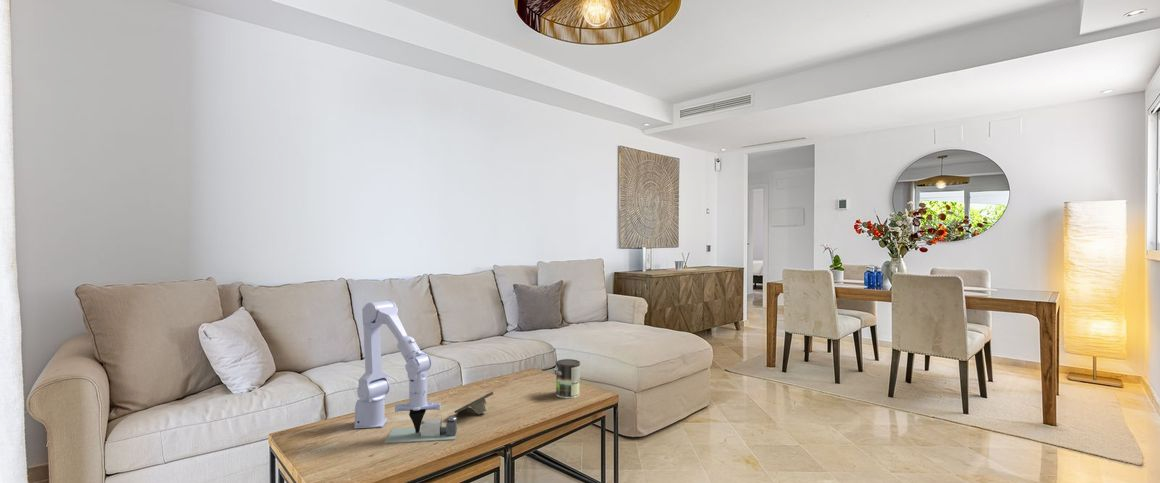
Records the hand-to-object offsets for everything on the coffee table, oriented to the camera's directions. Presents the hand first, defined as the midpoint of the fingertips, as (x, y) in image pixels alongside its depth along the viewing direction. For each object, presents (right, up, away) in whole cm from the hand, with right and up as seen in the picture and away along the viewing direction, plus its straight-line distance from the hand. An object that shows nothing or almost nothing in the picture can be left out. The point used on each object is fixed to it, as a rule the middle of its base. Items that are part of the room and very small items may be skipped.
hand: (417, 431), depth 162 cm
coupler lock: (+4, -1, +1) cm, 5 cm away
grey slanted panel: (+14, -2, +21) cm, 25 cm away
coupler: (+8, -1, +1) cm, 8 cm away
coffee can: (+49, -2, +45) cm, 67 cm away
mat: (+1, -1, +1) cm, 2 cm away
